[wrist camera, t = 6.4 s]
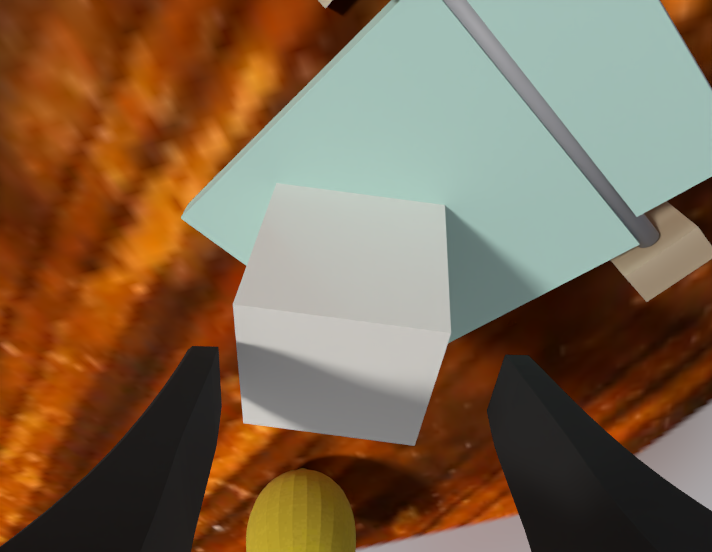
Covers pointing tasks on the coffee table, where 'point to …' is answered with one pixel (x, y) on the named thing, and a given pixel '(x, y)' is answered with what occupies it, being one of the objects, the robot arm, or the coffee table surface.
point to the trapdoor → (491, 138)
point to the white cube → (343, 314)
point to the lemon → (301, 516)
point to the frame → (660, 250)
